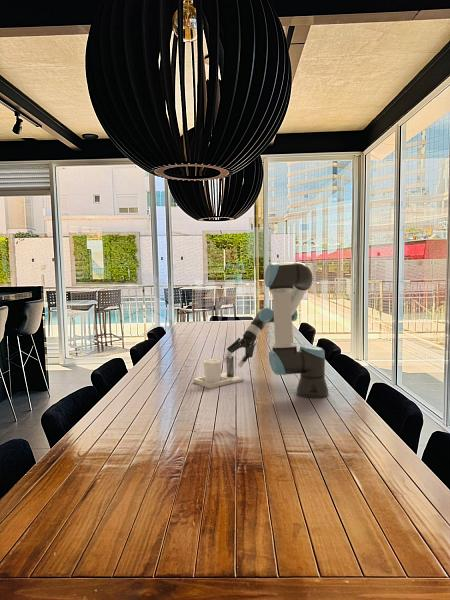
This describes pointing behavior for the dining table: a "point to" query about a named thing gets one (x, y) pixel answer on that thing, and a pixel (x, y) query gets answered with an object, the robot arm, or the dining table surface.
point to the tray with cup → (222, 376)
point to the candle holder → (212, 370)
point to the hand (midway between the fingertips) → (231, 363)
